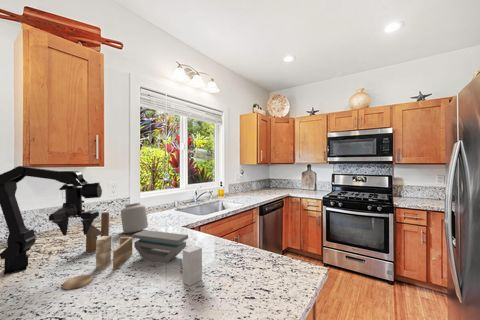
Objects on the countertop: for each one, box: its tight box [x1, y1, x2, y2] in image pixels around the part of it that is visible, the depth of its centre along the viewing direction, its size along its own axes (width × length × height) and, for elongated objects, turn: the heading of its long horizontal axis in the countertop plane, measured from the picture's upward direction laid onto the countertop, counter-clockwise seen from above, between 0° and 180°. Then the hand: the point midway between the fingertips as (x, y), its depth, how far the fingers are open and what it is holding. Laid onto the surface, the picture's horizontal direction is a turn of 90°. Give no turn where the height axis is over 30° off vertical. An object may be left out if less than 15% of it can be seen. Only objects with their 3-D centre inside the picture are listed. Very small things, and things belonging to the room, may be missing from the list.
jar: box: [120, 202, 149, 234], centre depth 143 cm, size 19×15×25 cm
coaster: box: [61, 274, 94, 291], centre depth 80 cm, size 9×9×1 cm
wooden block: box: [85, 211, 110, 253], centre depth 114 cm, size 4×11×18 cm, turn 158°
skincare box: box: [182, 245, 203, 287], centre depth 82 cm, size 6×4×12 cm
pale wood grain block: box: [95, 235, 112, 270], centre depth 94 cm, size 4×5×12 cm
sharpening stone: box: [132, 229, 189, 264], centre depth 102 cm, size 25×8×11 cm, turn 71°
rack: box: [112, 236, 134, 271], centre depth 99 cm, size 6×17×8 cm, turn 4°
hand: (75, 235), depth 96 cm, fingers open, 9 cm apart
